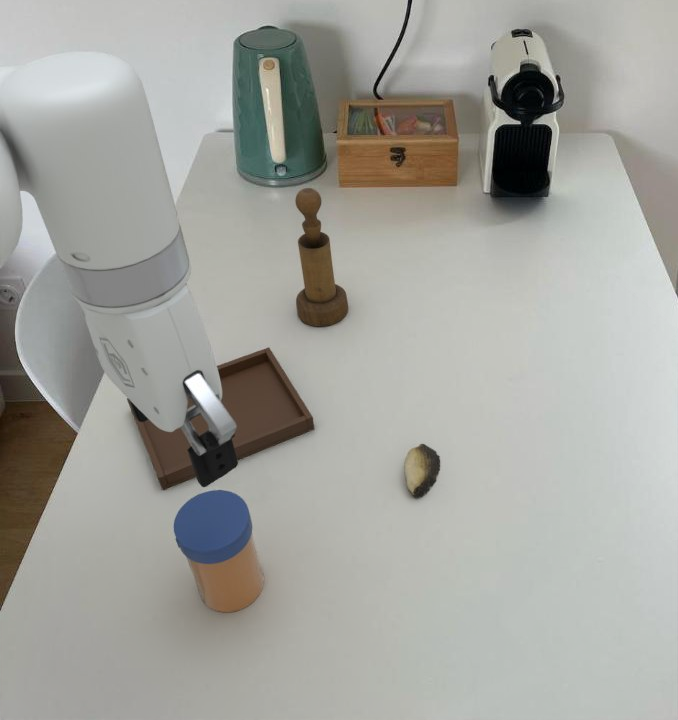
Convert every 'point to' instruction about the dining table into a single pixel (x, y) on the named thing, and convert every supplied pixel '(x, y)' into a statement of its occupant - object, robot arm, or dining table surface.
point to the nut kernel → (421, 469)
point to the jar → (230, 580)
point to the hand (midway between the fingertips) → (185, 441)
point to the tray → (235, 416)
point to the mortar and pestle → (317, 268)
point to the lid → (213, 526)
